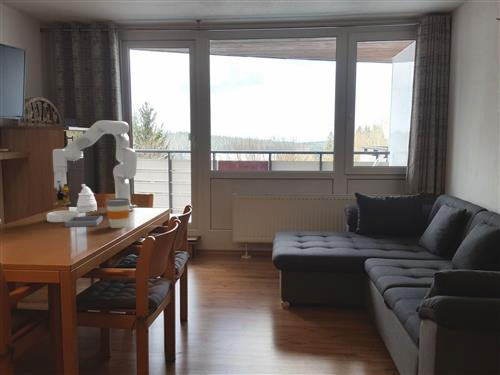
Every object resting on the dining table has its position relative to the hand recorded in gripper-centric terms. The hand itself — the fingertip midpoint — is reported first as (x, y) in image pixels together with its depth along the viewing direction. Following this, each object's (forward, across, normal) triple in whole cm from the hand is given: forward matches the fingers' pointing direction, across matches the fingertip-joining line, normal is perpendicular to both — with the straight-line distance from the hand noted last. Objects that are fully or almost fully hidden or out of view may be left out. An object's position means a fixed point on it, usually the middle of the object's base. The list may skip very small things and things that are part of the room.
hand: (61, 198), depth 253 cm
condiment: (+3, 0, 0) cm, 3 cm away
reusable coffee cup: (+13, +29, +37) cm, 49 cm away
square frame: (+13, +16, +16) cm, 26 cm away
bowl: (+13, 0, 0) cm, 13 cm away
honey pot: (+13, -32, +7) cm, 35 cm away
